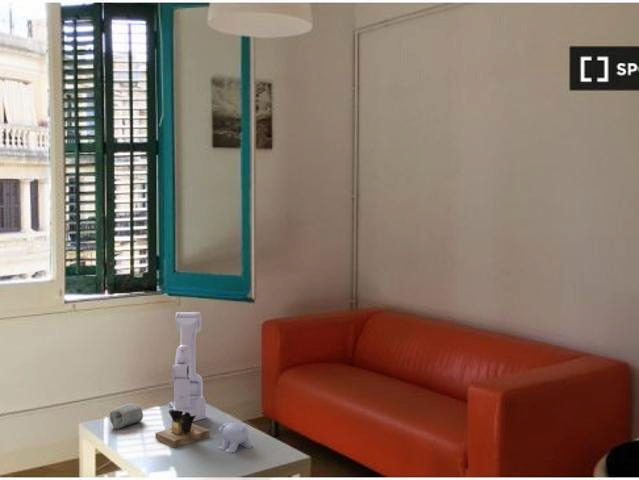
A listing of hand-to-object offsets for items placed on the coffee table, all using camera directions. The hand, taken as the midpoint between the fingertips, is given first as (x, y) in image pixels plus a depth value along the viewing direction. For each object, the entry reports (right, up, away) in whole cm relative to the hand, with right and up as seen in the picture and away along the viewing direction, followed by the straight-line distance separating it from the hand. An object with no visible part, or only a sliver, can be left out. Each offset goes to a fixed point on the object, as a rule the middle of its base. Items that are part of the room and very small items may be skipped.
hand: (182, 430), depth 286 cm
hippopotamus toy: (+20, -4, -7) cm, 22 cm away
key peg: (0, -3, 0) cm, 3 cm away
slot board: (0, -3, 0) cm, 3 cm away
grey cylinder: (-25, -2, +14) cm, 29 cm away
